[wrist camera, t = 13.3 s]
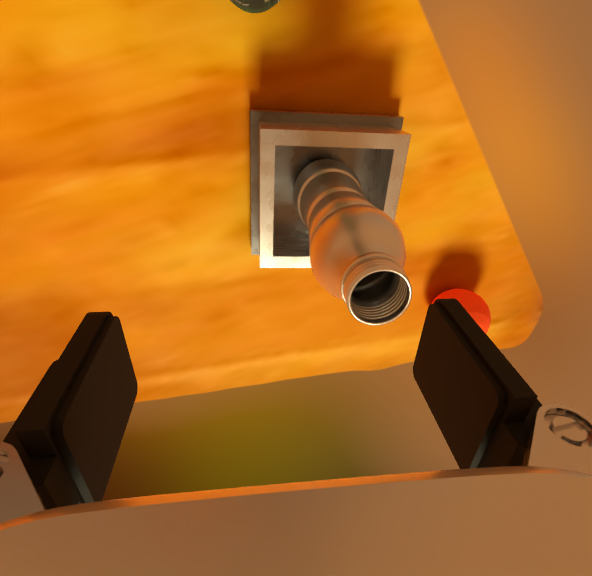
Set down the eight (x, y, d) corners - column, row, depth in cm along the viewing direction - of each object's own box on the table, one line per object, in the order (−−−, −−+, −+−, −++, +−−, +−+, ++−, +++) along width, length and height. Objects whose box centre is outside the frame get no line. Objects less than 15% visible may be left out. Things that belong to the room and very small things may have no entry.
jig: (250, 108, 35) (249, 117, 29) (398, 115, 36) (422, 124, 31) (251, 248, 42) (251, 275, 37) (375, 249, 43) (391, 274, 38)
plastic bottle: (345, 143, 35) (428, 222, 18) (362, 208, 39) (446, 325, 22) (280, 168, 36) (303, 266, 19) (303, 230, 40) (340, 360, 23)
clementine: (401, 303, 48) (424, 338, 42) (443, 263, 45) (473, 294, 39) (441, 331, 51) (467, 368, 45) (483, 295, 48) (516, 329, 42)
